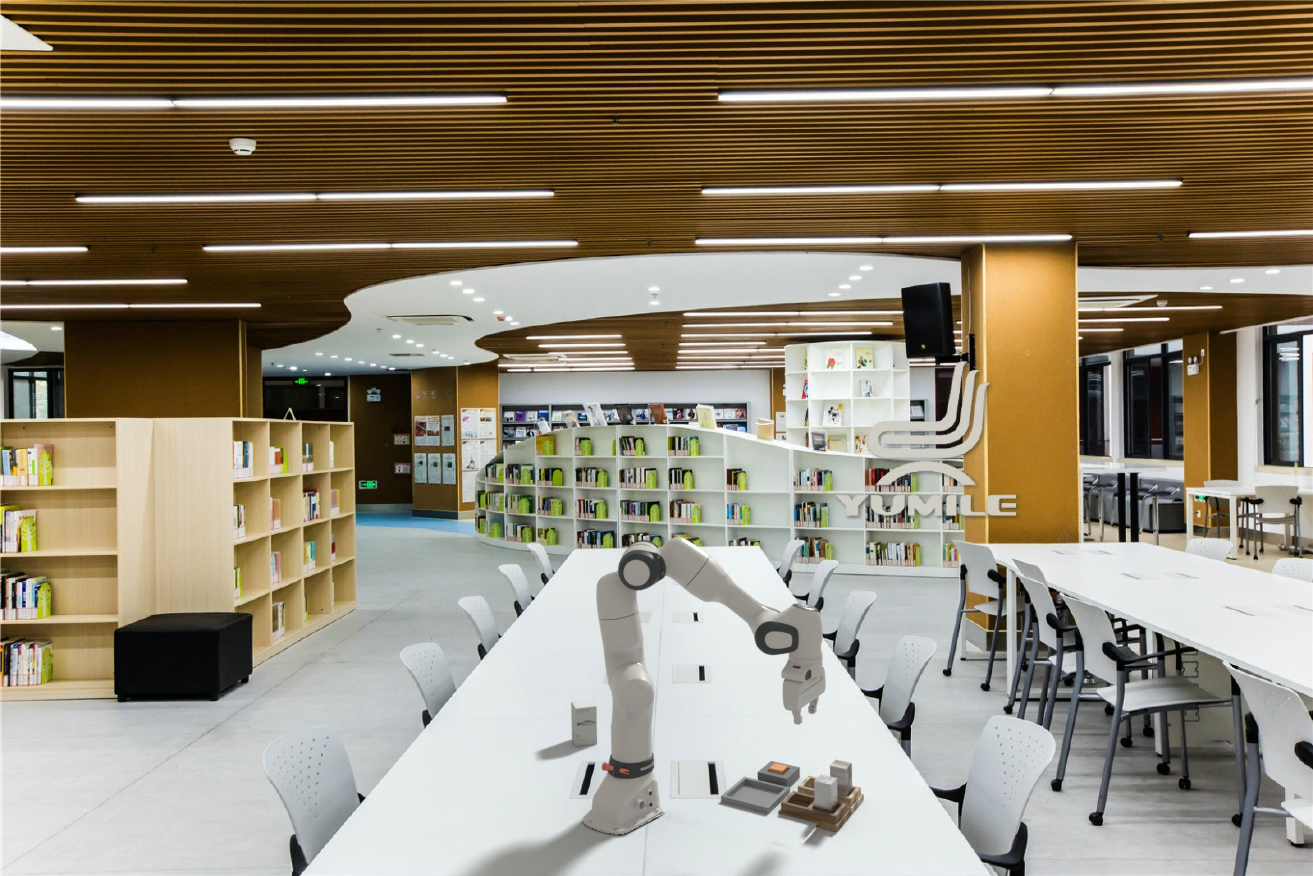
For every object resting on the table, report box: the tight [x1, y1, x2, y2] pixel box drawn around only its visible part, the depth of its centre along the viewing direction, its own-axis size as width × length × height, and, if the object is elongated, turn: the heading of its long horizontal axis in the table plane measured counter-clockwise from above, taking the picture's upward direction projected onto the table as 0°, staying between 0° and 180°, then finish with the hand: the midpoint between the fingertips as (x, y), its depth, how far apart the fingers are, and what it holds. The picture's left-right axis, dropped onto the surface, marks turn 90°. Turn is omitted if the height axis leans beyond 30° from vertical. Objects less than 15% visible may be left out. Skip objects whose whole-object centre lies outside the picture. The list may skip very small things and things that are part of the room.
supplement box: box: [570, 699, 598, 747], centre depth 265 cm, size 7×7×13 cm
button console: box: [757, 760, 801, 788], centre depth 230 cm, size 9×9×4 cm
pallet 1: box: [797, 759, 865, 815], centre depth 220 cm, size 10×16×10 cm, turn 57°
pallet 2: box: [777, 790, 851, 833], centre depth 210 cm, size 10×16×4 cm, turn 57°
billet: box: [814, 774, 838, 814], centre depth 209 cm, size 4×5×9 cm
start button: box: [769, 763, 788, 775], centre depth 230 cm, size 4×4×3 cm
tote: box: [720, 776, 791, 815], centre depth 220 cm, size 14×14×2 cm
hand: (805, 718), depth 213 cm, fingers open, 8 cm apart
